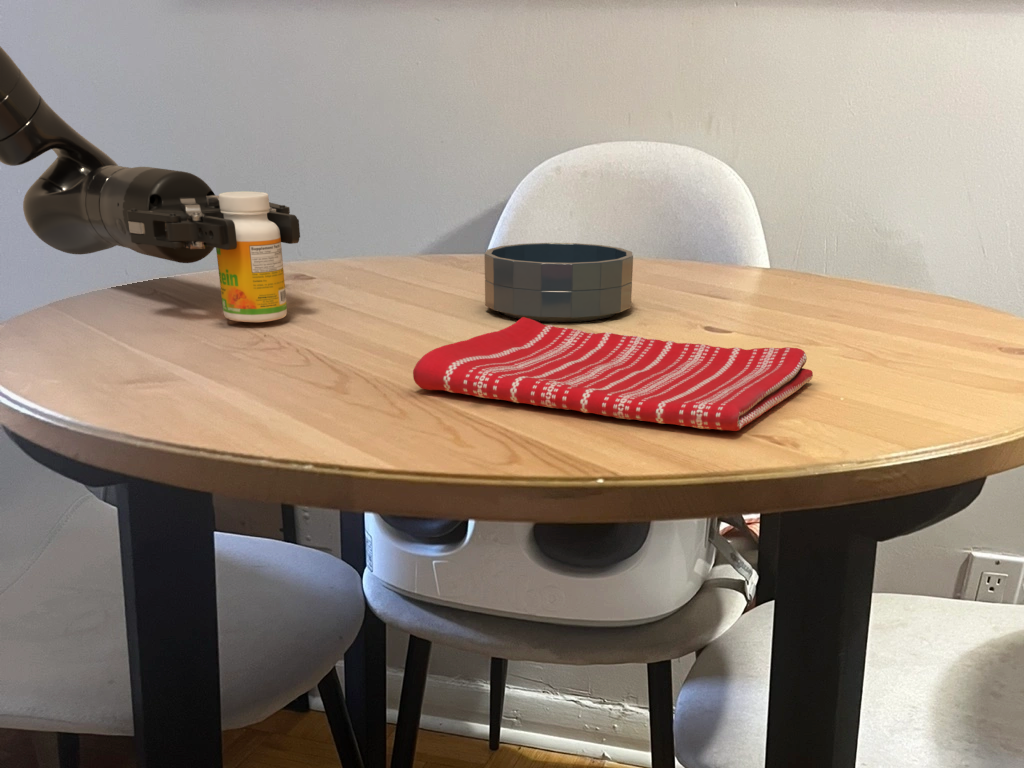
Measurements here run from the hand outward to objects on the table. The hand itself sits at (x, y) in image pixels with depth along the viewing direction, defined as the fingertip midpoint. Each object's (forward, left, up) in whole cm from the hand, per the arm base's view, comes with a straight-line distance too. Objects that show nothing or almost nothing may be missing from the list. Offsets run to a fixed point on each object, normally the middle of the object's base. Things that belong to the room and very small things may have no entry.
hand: (264, 232), depth 94 cm
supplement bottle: (+1, +2, -7) cm, 8 cm away
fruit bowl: (+18, -18, -7) cm, 27 cm away
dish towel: (-7, -34, -8) cm, 36 cm away
